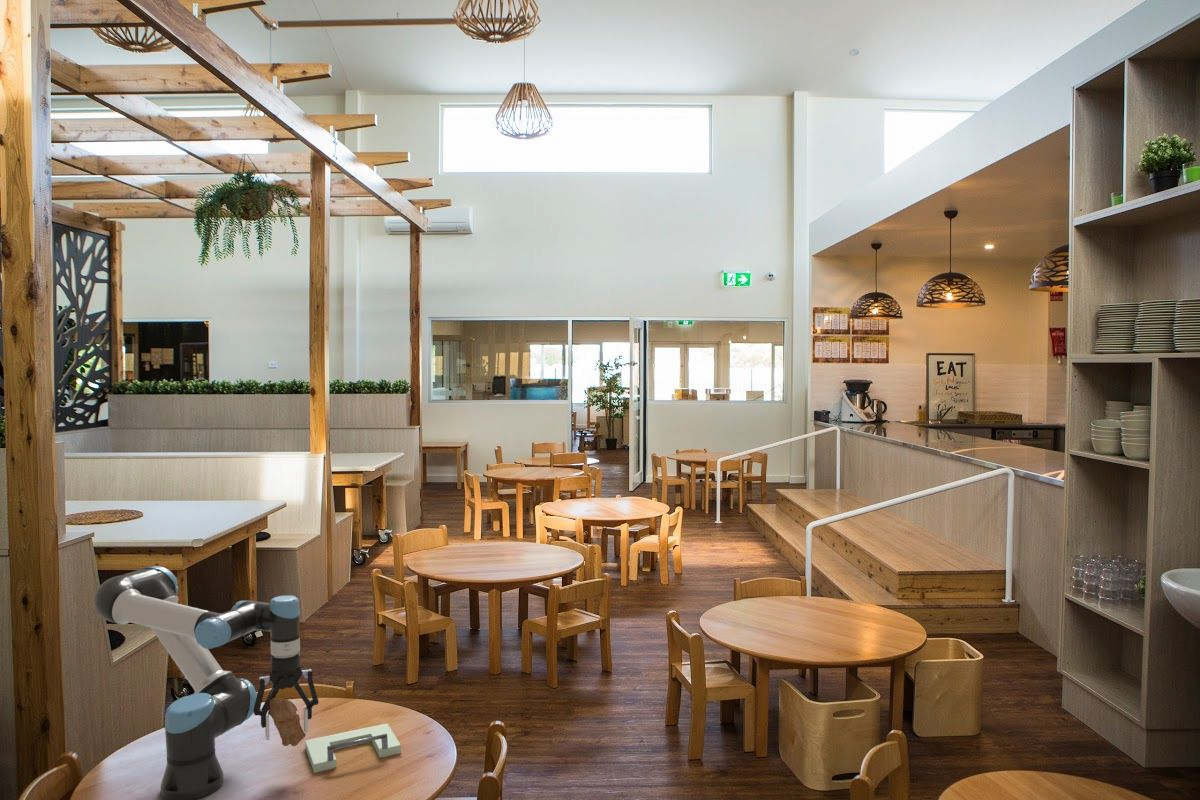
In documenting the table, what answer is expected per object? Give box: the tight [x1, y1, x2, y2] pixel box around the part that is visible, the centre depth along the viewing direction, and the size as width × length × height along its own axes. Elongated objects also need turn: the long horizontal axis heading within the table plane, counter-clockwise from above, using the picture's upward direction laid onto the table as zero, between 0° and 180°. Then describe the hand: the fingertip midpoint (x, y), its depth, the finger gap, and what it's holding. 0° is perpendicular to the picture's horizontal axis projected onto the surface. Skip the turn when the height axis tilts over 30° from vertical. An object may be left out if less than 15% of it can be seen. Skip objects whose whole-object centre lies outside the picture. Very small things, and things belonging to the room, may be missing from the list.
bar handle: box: [327, 734, 388, 761], centre depth 237 cm, size 16×1×4 cm, turn 117°
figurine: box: [267, 696, 307, 747], centre depth 230 cm, size 8×8×15 cm
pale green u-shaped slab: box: [304, 722, 402, 774], centre depth 244 cm, size 24×17×2 cm
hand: (286, 734), depth 230 cm, fingers closed on figurine, 9 cm apart
